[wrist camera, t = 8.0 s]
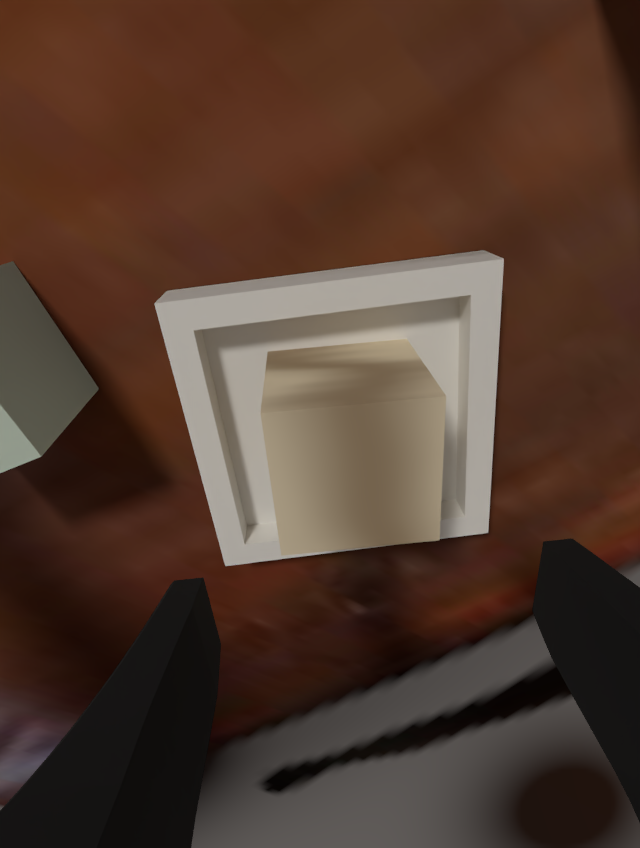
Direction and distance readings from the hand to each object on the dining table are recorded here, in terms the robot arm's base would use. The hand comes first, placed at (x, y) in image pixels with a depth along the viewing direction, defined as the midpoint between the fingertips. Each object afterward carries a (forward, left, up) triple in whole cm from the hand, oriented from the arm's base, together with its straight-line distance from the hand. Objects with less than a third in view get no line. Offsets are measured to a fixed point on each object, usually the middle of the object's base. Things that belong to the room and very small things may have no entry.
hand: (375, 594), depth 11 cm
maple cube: (0, 0, -9) cm, 9 cm away
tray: (0, -1, -10) cm, 10 cm away
